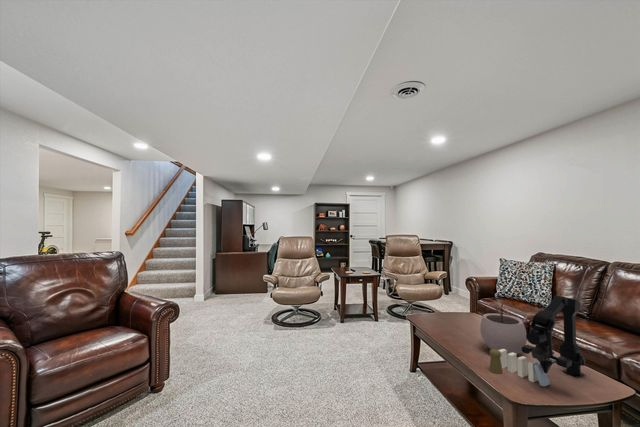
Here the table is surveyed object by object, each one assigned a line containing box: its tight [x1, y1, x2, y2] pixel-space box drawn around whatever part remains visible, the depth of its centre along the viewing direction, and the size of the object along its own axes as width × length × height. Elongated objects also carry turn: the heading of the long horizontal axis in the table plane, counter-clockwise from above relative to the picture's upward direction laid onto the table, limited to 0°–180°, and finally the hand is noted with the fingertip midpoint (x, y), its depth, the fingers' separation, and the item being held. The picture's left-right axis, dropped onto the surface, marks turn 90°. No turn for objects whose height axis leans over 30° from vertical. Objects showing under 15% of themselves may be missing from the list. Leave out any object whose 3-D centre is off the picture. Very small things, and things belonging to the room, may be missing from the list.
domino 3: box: [517, 355, 529, 379], centre depth 143 cm, size 5×2×9 cm, turn 116°
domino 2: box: [507, 352, 518, 374], centre depth 148 cm, size 5×2×9 cm, turn 116°
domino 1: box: [498, 349, 508, 370], centre depth 152 cm, size 5×2×9 cm, turn 116°
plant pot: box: [479, 303, 528, 355], centre depth 170 cm, size 24×24×30 cm
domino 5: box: [534, 362, 551, 387], centre depth 136 cm, size 5×2×9 cm, turn 116°
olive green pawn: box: [488, 349, 503, 375], centre depth 148 cm, size 6×6×11 cm
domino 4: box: [527, 359, 539, 383], centre depth 139 cm, size 5×2×9 cm, turn 116°
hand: (546, 373), depth 134 cm, fingers closed
